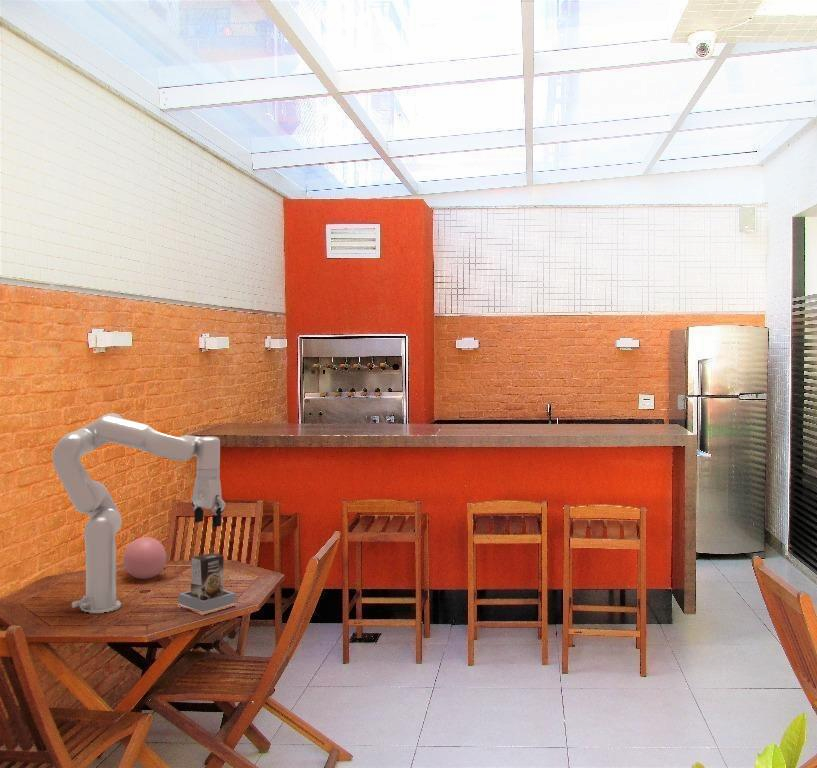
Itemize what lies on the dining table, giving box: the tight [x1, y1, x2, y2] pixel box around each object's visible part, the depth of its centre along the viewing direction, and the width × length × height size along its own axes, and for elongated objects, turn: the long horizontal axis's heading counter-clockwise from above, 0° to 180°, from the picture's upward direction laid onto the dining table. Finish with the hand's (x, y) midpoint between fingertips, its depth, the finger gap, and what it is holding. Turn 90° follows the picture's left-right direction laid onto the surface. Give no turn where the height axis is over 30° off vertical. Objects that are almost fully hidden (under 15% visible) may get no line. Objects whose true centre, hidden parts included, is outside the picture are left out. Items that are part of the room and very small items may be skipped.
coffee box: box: [190, 552, 225, 600], centre depth 288 cm, size 9×6×16 cm
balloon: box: [122, 536, 167, 580], centre depth 322 cm, size 15×20×15 cm
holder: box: [178, 588, 237, 612], centre depth 289 cm, size 13×13×4 cm
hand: (207, 524), depth 288 cm, fingers open, 9 cm apart
